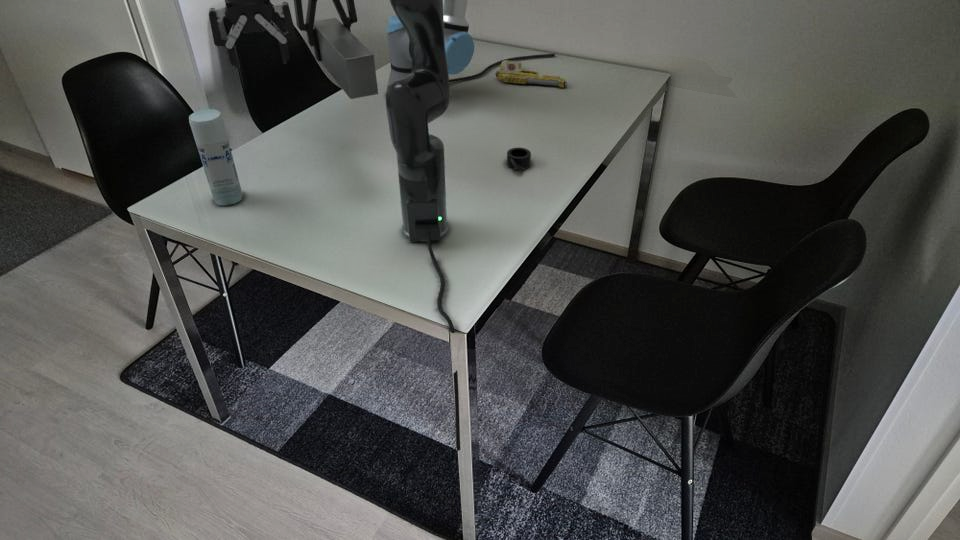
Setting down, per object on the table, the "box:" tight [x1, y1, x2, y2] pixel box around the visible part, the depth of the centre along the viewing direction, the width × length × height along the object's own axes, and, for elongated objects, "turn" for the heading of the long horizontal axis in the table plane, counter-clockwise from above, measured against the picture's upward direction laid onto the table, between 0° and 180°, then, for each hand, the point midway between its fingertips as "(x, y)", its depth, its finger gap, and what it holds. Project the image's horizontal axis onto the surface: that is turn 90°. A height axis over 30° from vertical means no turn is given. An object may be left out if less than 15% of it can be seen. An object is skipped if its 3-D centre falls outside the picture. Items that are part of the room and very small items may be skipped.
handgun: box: [494, 59, 567, 89], centre depth 199 cm, size 2×23×15 cm
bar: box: [313, 17, 379, 100], centre depth 137 cm, size 28×6×8 cm, turn 26°
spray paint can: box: [188, 108, 244, 206], centre depth 136 cm, size 6×6×20 cm
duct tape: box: [506, 147, 532, 171], centre depth 154 cm, size 8×10×3 cm
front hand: (261, 64), depth 117 cm, fingers open, 8 cm apart
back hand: (332, 56), depth 146 cm, fingers closed on bar, 6 cm apart
